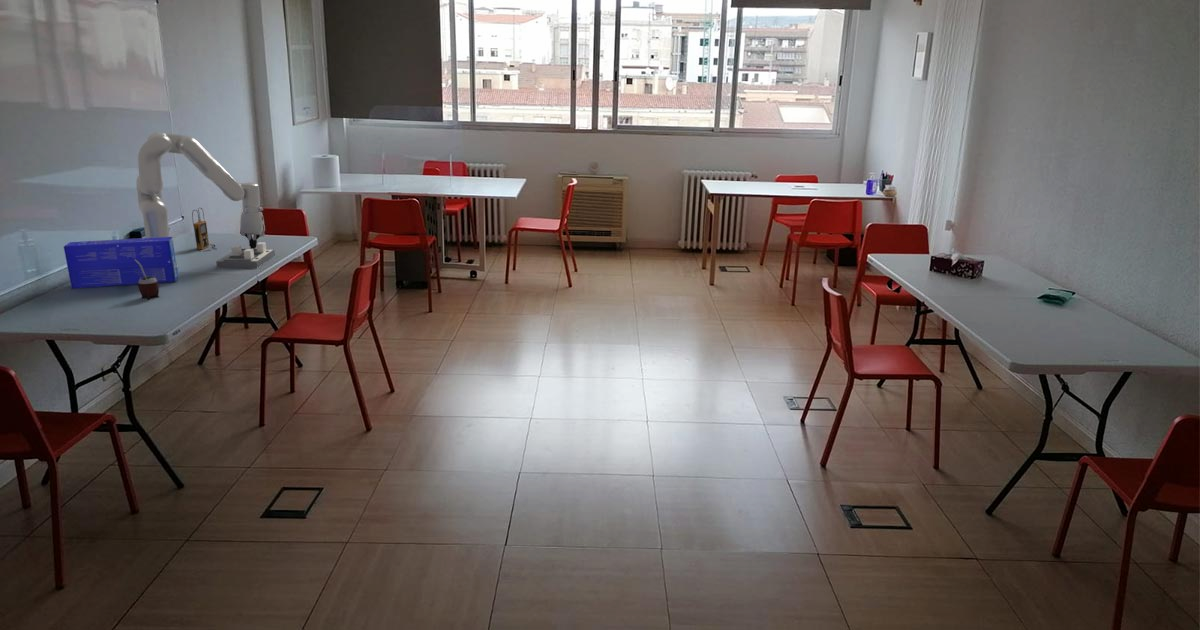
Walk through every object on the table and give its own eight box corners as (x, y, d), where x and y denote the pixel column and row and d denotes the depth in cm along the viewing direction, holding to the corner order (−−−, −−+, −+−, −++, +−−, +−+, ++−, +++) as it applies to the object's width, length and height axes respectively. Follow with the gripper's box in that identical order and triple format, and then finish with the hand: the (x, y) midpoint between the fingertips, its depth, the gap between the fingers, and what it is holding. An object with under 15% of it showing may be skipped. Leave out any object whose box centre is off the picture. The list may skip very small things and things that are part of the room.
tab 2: (263, 252, 384) (262, 244, 383) (257, 252, 384) (256, 244, 383) (266, 250, 388) (265, 242, 387) (260, 250, 388) (259, 242, 387)
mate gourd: (158, 299, 321) (152, 262, 317) (135, 300, 319) (129, 263, 314) (162, 294, 328) (156, 258, 323) (140, 295, 326) (134, 259, 321)
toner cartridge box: (179, 278, 352) (173, 236, 346) (176, 283, 344) (169, 240, 338) (76, 283, 340) (68, 240, 334) (71, 289, 333) (62, 245, 327)
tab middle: (238, 255, 377) (237, 247, 376) (232, 255, 377) (231, 247, 376) (242, 253, 381) (241, 245, 380) (235, 253, 381) (234, 245, 380)
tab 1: (251, 259, 371) (250, 251, 370) (244, 259, 371) (243, 251, 370) (254, 257, 375) (253, 249, 374) (247, 257, 375) (246, 249, 374)
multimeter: (213, 252, 397) (208, 211, 390) (193, 251, 397) (187, 211, 391) (227, 245, 411) (222, 206, 404) (207, 244, 411) (202, 205, 405)
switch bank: (257, 268, 369) (256, 260, 368) (216, 267, 369) (215, 260, 367) (274, 255, 392) (274, 248, 391) (236, 255, 391) (235, 247, 390)
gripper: (270, 209, 385) (272, 247, 390) (237, 207, 383) (239, 245, 388) (265, 211, 377) (267, 250, 382) (232, 210, 376) (234, 248, 381)
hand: (253, 248), depth 385 cm, fingers closed
